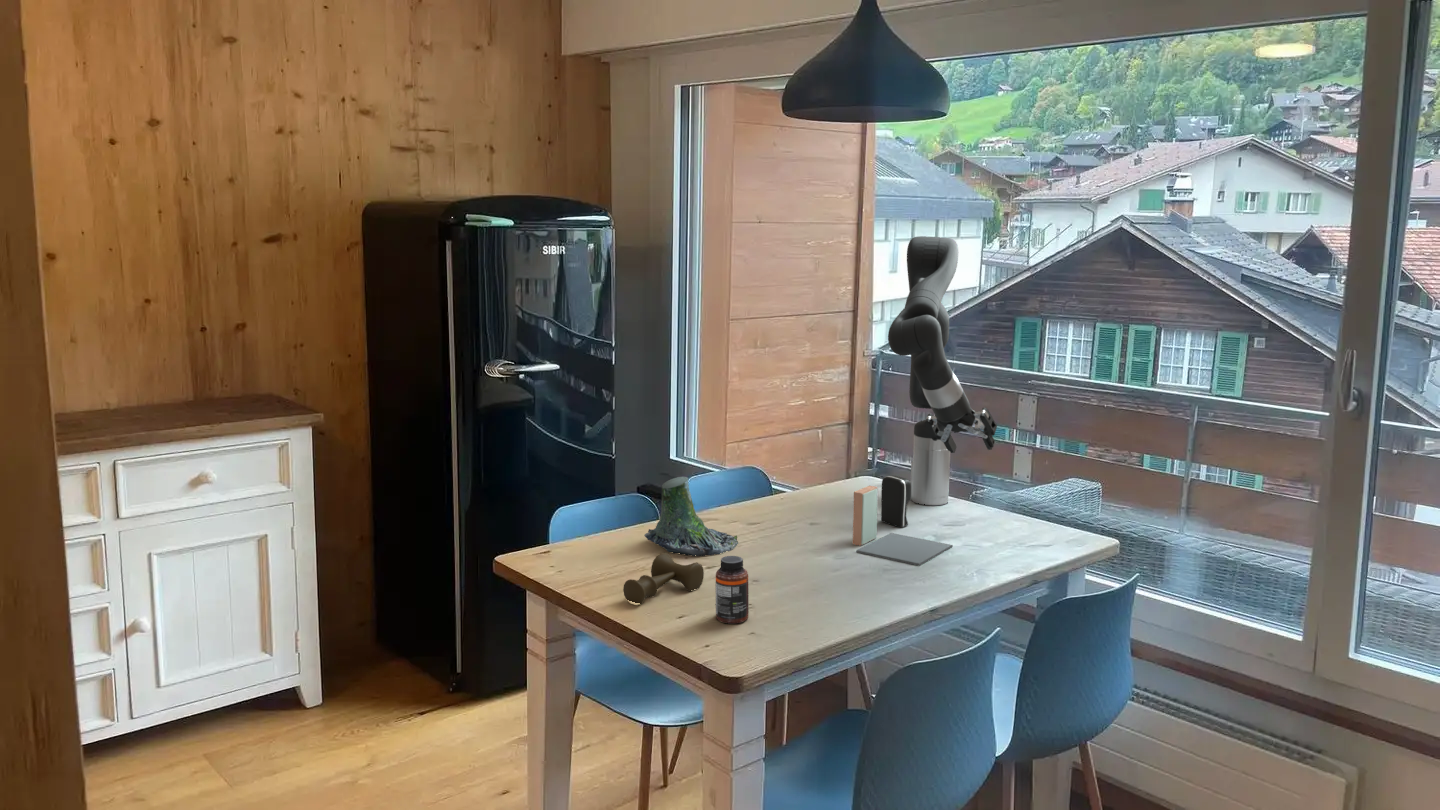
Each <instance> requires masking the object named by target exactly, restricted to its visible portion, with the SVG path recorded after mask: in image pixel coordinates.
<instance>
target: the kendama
mask: <svg viewBox="0 0 1440 810" xmlns="http://www.w3.org/2000/svg"><path fill="white" fill-rule="evenodd" d="M650 568H651V569H650V570H651V571H650V574H651V576H649V575H647V574H645V575H644V574H643V575H641V576H640V577H639V579H638V580H636V579H632V578H631V579H628V580H626V581H625V582H624V583H623V589H622V592H623V596H624V598H625V600H626V599H627V600H629V601H632V602H635V603H640V604H641V605H642V604H644V602H645V599H646V598H654V597H655V596H657V593H658V590H659V589H660V588H661V587H663V586H665V584H667V583H668V582H670V581H671V580H672V581H676V582H677V583H681V585H682V586H683V587H684V589H686V590H687V591H689V592H692V591H691V590H694V589H697V588H698V589H700V587H701V586H702V584H703V580H704V575H705V573H704V572H705V571H704V567H703V566H702V564H700V563H699V562H693V563H691V564H690V563H689V564H680V563H677V562H675V561H674V559H673V558H672V556H671V554H669V553H668V552H661V553H659V554H658V555H656V556H655V558H654V559H653V560H652V563H651V567H650ZM698 589H697V590H698ZM694 591H695V590H694ZM627 600H626V601H627Z"/></svg>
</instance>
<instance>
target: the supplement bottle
mask: <svg viewBox="0 0 1440 810" xmlns="http://www.w3.org/2000/svg"><path fill="white" fill-rule="evenodd" d="M749 593H750V592H749V572H748V570H747V569H746V568H744V559H743V558H742V557H741V556H737V555H725V556H722V557H721V558H720V567H719V569H717V571H716V572H715V605H714V606H715V618H716V620H717V621H719V622H720V621H721V623H723V624H727V623H728V624H729V625H732V624H734V625H735V624H741V623H745V621H746V620H748V618H749V608H750V607H749V605H750V604H749V601H750V600H749ZM728 624H727V625H728Z"/></svg>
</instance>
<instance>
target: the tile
mask: <svg viewBox="0 0 1440 810" xmlns="http://www.w3.org/2000/svg"><path fill="white" fill-rule="evenodd" d="M878 493H879V489H878V486H876V485H875V486H873V485H867V486H865V487H862V488H860V489H857V490H856V491H854V492H853V515H852V516H853V518H852V545H854V544H855V545H854V546H858V545H859V547H862V546H863V544H864V545H867V543H868V544H869V543H870V542H873V541H875V540H877V535H878V533H877V529H878V503H879V502H878V501H879V500H878V498H879V497H878V496H879V495H878ZM869 541H870V542H869ZM861 545H862V546H861Z"/></svg>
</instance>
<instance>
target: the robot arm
mask: <svg viewBox="0 0 1440 810" xmlns="http://www.w3.org/2000/svg"><path fill="white" fill-rule="evenodd" d="M958 261H959V247H958V243H957V241H956V239H953V238H950V237H943V236H927V235H926V236H914V237H912V238H911V239H910V240H909V242H908V244H907V250H906V269H907V270H906V271H907V279H908V280H907V281H908V289H909V292H908V295H907V297H906V301H905V303H904V308H903V309H902V310H900V312H899V313H898V314H897V316H896V317H895V318H894V320H893V321H892V323H891V324H890V326H889V328H888V334H887V341H888V345H889V347H890V349H891V351H892V352H894V354H896V355H898V356H901V357H905V356H910V373H909V389H908V390H909V400H910V403H911V406H913V407H915V408H918V409H927V410H928V409H931V411H932V412H933V413H927V416H926V418H925V419H924V420H920V421H918V422H916V423H915V424H914V426H913V446H912V448H913V454H912V456H913V457H912V461H911V463H910V483H911V501H912V502H913V503H916V504H918V503H919V504H920V505H924V504H925V506H942V505H946V504H948V503H949V493H950V492H949V489H950V473H951V472H950V469H951V454H955V453H956V450H957V445H956V443H955V441H954V438H953V437H952V432H953V433H955V434H956V433H957V434H958V433H960V432H962V433H967V432H969V433H971V434H972V435H978V436H979V437H981V438H982V440H983V443H984V445H985V447H986V448H987V450H988V451H991V450H993V448H994V446H995V441H996V440H995V438H994V436H995V434H996V430H997V427H998V425H997V423H996V421H995V419H994V418H993V416H992V414H991V412H990V411H989V409H988V408H987V407H982V409H981V410H979V411H975V410H973V409H972V407H971V404H970V401H969V398H968V397H967V395H966V392H965V391H964V389H963V387H962V385H961V383H960V381H959V379H958V377H957V375H956V374H955V373H954V371H953V370H952V368H951V365H950V363H949V362H948V359H947V357H946V353H945V348H946V346H947V344H948V342H949V339H950V316H949V312H948V311H947V309H946V308H945V306H944V304H943V303H942V300H943V298H944V295H945V294H946V291H947V290H948V288H949V287H950V284H951V282H952V281H953V279H954V276H955V273H956V271H957V268H958ZM933 414H934V415H933ZM973 425H974V426H973ZM947 502H948V503H947ZM919 504H918V505H919Z"/></svg>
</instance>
